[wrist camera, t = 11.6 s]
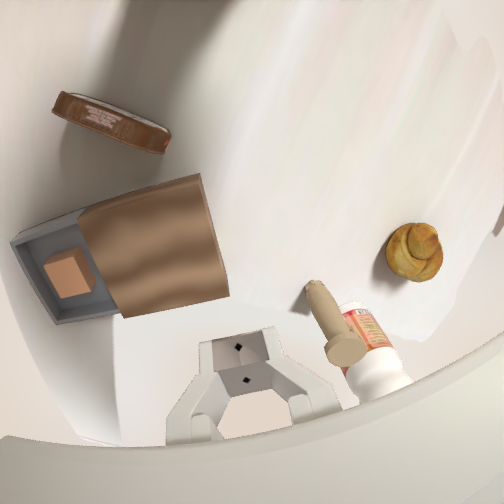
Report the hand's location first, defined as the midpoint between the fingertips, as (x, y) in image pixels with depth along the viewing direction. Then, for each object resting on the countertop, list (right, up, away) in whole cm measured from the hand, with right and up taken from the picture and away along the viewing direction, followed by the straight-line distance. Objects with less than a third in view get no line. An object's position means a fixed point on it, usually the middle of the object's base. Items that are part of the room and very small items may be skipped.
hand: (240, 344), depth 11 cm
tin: (-16, +20, +20) cm, 33 cm away
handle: (+10, -2, +37) cm, 38 cm away
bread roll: (+28, +5, +36) cm, 46 cm away
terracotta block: (-26, 0, +25) cm, 36 cm away
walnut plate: (-12, +5, +29) cm, 32 cm away
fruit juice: (+18, -9, +42) cm, 47 cm away
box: (-27, +1, +28) cm, 39 cm away
